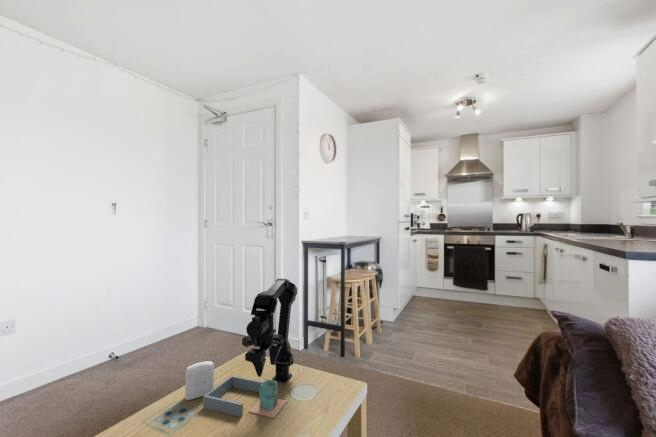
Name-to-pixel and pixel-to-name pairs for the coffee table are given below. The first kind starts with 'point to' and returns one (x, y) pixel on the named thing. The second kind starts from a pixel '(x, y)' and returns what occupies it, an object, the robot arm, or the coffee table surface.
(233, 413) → the open-front gray frame
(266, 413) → the terracotta mat
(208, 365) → the photo printer
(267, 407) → the teal block
